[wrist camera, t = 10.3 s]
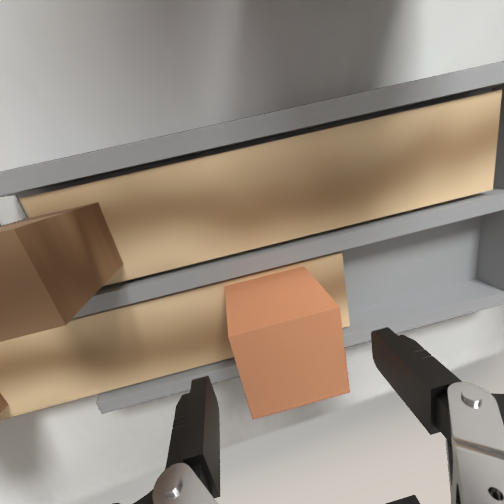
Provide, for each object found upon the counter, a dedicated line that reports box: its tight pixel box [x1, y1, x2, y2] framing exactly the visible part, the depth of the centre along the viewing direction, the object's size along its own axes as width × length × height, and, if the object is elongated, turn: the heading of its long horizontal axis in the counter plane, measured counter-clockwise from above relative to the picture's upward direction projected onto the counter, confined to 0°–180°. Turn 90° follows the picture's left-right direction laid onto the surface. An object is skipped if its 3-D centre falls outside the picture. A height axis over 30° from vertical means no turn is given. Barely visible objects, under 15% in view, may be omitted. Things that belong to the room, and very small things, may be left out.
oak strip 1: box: [0, 90, 502, 342], centre depth 13 cm, size 6×26×8 cm, turn 102°
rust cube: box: [225, 266, 350, 420], centre depth 15 cm, size 5×5×5 cm
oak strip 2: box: [0, 251, 350, 420], centre depth 14 cm, size 6×26×9 cm, turn 102°
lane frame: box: [0, 61, 504, 414], centre depth 17 cm, size 15×30×2 cm, turn 102°
